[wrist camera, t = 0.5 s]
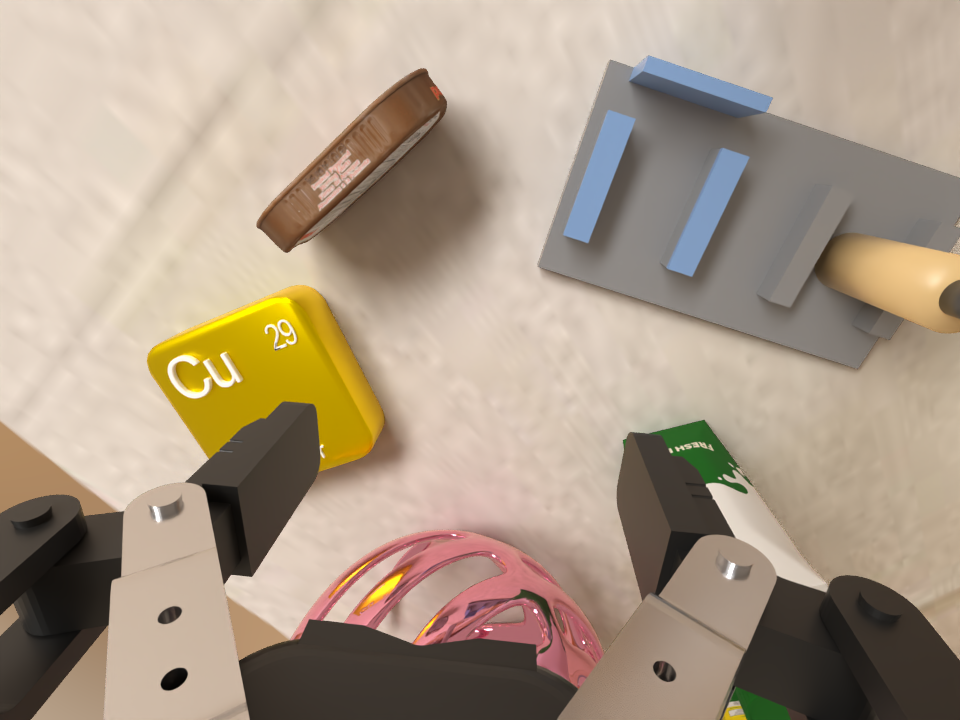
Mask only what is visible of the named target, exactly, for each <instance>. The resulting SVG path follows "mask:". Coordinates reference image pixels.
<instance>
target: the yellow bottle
mask: <svg viewBox="0 0 960 720" xmlns="http://www.w3.org/2000/svg"><path fill="white" fill-rule="evenodd" d="M815 273H816V276H817V278H818V280H819V281H820V282H821V283H822V284H823V285H825V286H827V287H829V288H832V289H834V290H837V291H839V292H841V293H844V294H846V295H849V296H851V297H853V298H856V299H858V300H861V301H863V302H865V303H868V304H870V305H873V306H875V307H878V308H880V309H882V310H885V311H887V312H890V313H892V314H894V315H897V316H899V317H902V318H904V319H906V320H909V321H911V322H914V323H916V324H918V325H921V326H923V327H926V328H928V329H930V330H933V331H935V332H939V333H957V332H960V255H957V254H952V253H948V252H943V251H939V250H934V249H929V248H925V247H920V246H916V245H911V244H906V243H902V242H897V241H893V240H888V239H883V238H879V237H874V236H870V235H865V234H860V233H845V234H841V235H839V236H836V237H834V238H833V239H831V240H830V241H829V242H828V243H827V245H826V247H825V248H824V250H823V252H822V253H821V255H820V257H819V259H818V260H817V262H816V264H815Z"/></svg>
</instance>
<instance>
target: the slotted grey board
mask: <svg viewBox="0 0 960 720" xmlns="http://www.w3.org/2000/svg"><path fill="white" fill-rule="evenodd" d="M772 99H773V98H772V97H769V96H766V95H763V94H760V93H757V92H754V91H752V90H749V89H746V88H743V87H740V86H737V85H734V84H731V83H728V82H725V81H722V80H719V79H716V78H713V77H710V76H707V75H704V74H702V73H699V72H696V71H693V70H690V69H687V68H684V67H681V66H678V65H675V64H672V63H669V62H666V61H663V60H660V59H657V58H654V57H652V56H647V57H646V58H645V59H644V60H643V61H641V62H640V63H639V64H638V65H636V66H635V67H634V68H633V67H630V66H627V65H624V64H622V63H619V62H616V61H613V60H610V61H609V62H608V64H607V67H606V70H605V72H604V75H603V78H602V81H601V84H600V87H599V90H598V92H597V95H596V98H595V101H594V104H593V107H592V110H591V112H590V115H589V118H588V121H587V124H586V127H585V130H584V133H583V135H582V138H581V141H580V144H579V147H578V150H577V153H576V155H575V158H574V161H573V164H572V167H571V170H570V173H569V175H568V178H567V181H566V184H565V187H564V190H563V193H562V195H561V198H560V201H559V204H558V207H557V210H556V213H555V215H554V218H553V221H552V224H551V227H550V230H549V233H548V236H547V238H546V241H545V244H544V247H543V250H542V253H541V256H540V258H539V261H538V267H540V268H543V269H547V270H550V271H553V272H556V273H559V274H562V275H565V276H568V277H572V278H575V279H578V280H581V281H584V282H587V283H590V284H593V285H597V286H600V287H603V288H606V289H609V290H612V291H615V292H618V293H622V294H625V295H628V296H631V297H634V298H637V299H640V300H643V301H647V302H650V303H653V304H656V305H659V306H662V307H665V308H668V309H672V310H675V311H678V312H681V313H684V314H687V315H690V316H693V317H697V318H700V319H703V320H706V321H709V322H712V323H715V324H718V325H722V326H725V327H728V328H731V329H734V330H737V331H740V332H744V333H747V334H750V335H753V336H756V337H759V338H762V339H765V340H769V341H772V342H775V343H778V344H781V345H784V346H787V347H790V348H794V349H797V350H800V351H803V352H806V353H809V354H812V355H815V356H819V357H822V358H825V359H828V360H831V361H834V362H837V363H840V364H844V365H847V366H850V367H853V368H856V369H858V368H859V367H860V365H861V364H862V362H863V361H864V359H865V358H866V356H867V355H868V353H869V352H870V350H871V349H872V347H873V346H874V344H875V343H876V341H877V340H878V338H879V337H882V338H885V339H888V340H890V339H891V337H892V336H893V334H894V333H895V332H896V330H897V329H898V327H899V326H900V324H901V323H902V321H903V320H904V318H902V317H899V316H897V315H894V314H892V313H890V312H887V311H885V310H882V309H880V308H878V307H875V306H873V305H870V304H868V303H865V302H863V301H861V300H858V299H856V298H853V297H851V296H849V295H846V294H844V293H841V292H839V291H837V290H834V289H832V288H829V287H827V286H825V285H823V284H822V283H821V282H820V281H819V280H818V278H817V276H816V273H815V264H816V262H817V260H818V259H819V257H820V255H821V253H822V252H823V250H824V248H825V247H826V245H827V243H828V242H829V241H830V240H831V239H833V238H834V237H836V236H839V235H841V234H845V233H860V234H865V235H870V236H874V237H879V238H883V239H888V240H893V241H897V242H902V243H906V244H911V245H916V246H920V247H925V248H929V249H934V250H939V251H943V252H948V253H949V252H950V251H951V249H952V248H953V246H954V245H955V243H956V242H957V240H958V239H959V237H960V228H958V227H955V226H954V225H955V223H956V222H957V220H958V219H959V217H960V178H958V177H955V176H952V175H949V174H946V173H944V172H941V171H938V170H935V169H932V168H929V167H926V166H923V165H920V164H917V163H914V162H911V161H908V160H905V159H902V158H899V157H896V156H893V155H890V154H887V153H884V152H881V151H879V150H876V149H873V148H870V147H867V146H864V145H861V144H858V143H855V142H852V141H849V140H846V139H843V138H840V137H837V136H834V135H831V134H828V133H825V132H822V131H819V130H816V129H814V128H811V127H808V126H805V125H802V124H799V123H796V122H793V121H790V120H787V119H784V118H781V117H778V116H775V115H772V114H769V113H766V111H767V109H768V107H769V105H770V103H771V101H772Z"/></svg>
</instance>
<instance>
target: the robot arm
mask: <svg viewBox="0 0 960 720" xmlns="http://www.w3.org/2000/svg"><path fill="white" fill-rule="evenodd" d="M320 458H321V456H320V443H319V431H318V419H317V411H316V407H315V405H314V404H310V403H299V402H287V401H284V402H282V403H281V404H280V405H279V406H278V407H277V408H276V409H275V410H274V411H273V412H272V413H271V414H270V415H269V416H268V417H267V418H266V419H265V418H260V419H258V420H256V421H254V422H252V423H250V424H248V425H246V426H244V427H242V428H241V429H240V430H239V431H238V432H237V433H236V434H235V435H234V436H233V437H232V438H231V439H230V441H229V442H227V443H226V444H225V445H223V446H222V447H221V448H220V450H219V452H216V453H215V454H214V455H213V456H212V457H211V458H210V459H209V460H208V461H207V462H206V463H205V464H204V465H203V466H202V467H201V468H200V469H198V470H197V471H196V472H195V473H194V474H193V475H192V476H191V477H190V478H189V479H188V480H187V481H186V482H185V483H172V484H167V485H163V486H160V487H157V488H154V489H151V490H149V491H147V492H145V493H143V494H142V495H140V496H138V497H137V498H136V499H134V500H133V501H132V502H131V503H130V504H129V505H128V506H127V508H126V509H125V511H123V512H115V513H106V514H98V515H89V516H84V514H83V511H82V508H81V505H80V502H79V500H78V499H77V498H75V497H72V496H69V495H50V496H44V497H39V498H35V499H32V500H29V501H26V502H23V503H20V504H18V505H16V506H13V507H11V508H9V509H8V510H6V511H4V512H2V513H1V514H0V615H1V614H2V613H3V612H4V611H5V610H6V609H7V608H8V607H10V606H11V605H12V604H14V606H15V608H16V611H17V613H18V615H19V619H17V620H16V621H15V622H14V623H13V624H12V625H11V626H10V627H9V628H8V629H7V630H6V631H5V632H4V633H3V634H2V635H1V636H0V720H31V719H32V718H33V716H34V715H35V714H36V713H37V711H38V710H39V709H40V708H41V706H42V705H43V704H44V703H45V702H46V700H47V699H48V698H49V697H50V695H51V694H52V693H53V692H54V691H55V689H56V688H57V687H58V685H59V684H60V683H61V682H62V681H63V679H64V678H65V677H66V676H67V675H68V673H69V672H70V671H71V670H72V668H73V667H74V666H75V665H76V664H77V662H78V661H79V660H80V659H81V657H82V656H83V655H84V654H85V653H86V651H87V650H88V649H89V647H90V646H91V645H92V644H93V643H94V641H95V640H96V639H97V638H98V637H99V635H100V634H101V633H102V632H103V631H104V629H105V628H106V627H107V625H109V631H108V650H107V669H106V687H105V704H104V720H722V719H723V717H724V714H725V712H726V710H727V707H728V705H729V703H730V700H731V698H732V695H733V693H734V691H735V688H736V687H738V688H740V689H743V690H745V691H748V692H750V693H753V694H755V695H757V696H760V697H762V698H765V699H767V700H770V701H772V702H775V703H777V704H779V705H782V706H784V707H786V709H787V711H788V713H789V716H790V718H791V720H960V660H959V659H958V658H957V657H956V655H955V654H954V653H953V652H952V650H951V649H950V648H949V647H948V645H947V644H946V643H945V642H944V640H943V639H942V638H941V637H940V635H939V634H938V633H937V632H936V630H935V629H934V628H933V627H932V625H931V624H930V623H929V622H928V620H927V619H926V618H925V617H924V616H923V614H922V613H921V612H920V611H919V610H918V609H917V608H916V607H915V606H914V605H913V604H912V603H911V602H909V601H908V600H907V599H906V598H904V597H903V596H901V595H900V594H898V593H897V592H895V591H893V590H892V589H890V588H888V587H886V586H884V585H882V584H880V583H878V582H875V581H872V580H870V579H866V578H863V577H858V576H850V575H846V576H839V577H836V578H834V579H833V580H832V581H831V582H830V585H829V587H828V589H827V592H823V591H820V590H817V589H814V588H811V587H808V586H805V585H802V584H799V583H795V582H792V581H789V580H787V579H784V578H782V577H779V576H777V575H776V571H775V568H774V567H773V565H772V563H771V562H770V561H769V559H768V558H767V557H766V556H765V555H764V554H763V553H761V552H760V551H759V550H758V549H756V548H754V547H753V546H751V545H750V544H748V543H746V542H744V541H741V540H739V539H736V537H735V535H734V534H733V532H732V530H731V528H730V526H729V525H728V523H727V521H726V519H725V517H724V516H723V514H722V512H721V510H720V508H719V507H718V505H717V503H716V501H715V500H714V499H713V496H712V494H711V492H710V491H709V489H708V487H706V483H705V482H704V480H703V478H702V476H701V474H700V473H699V471H698V470H697V469H696V468H695V467H694V466H693V465H692V464H690V463H689V462H688V461H687V460H686V459H684V458H683V457H681V456H672V455H671V453H670V451H669V449H668V447H667V445H666V443H665V441H664V439H663V437H662V436H661V435H657V434H645V433H634V432H630V433H629V434H628V436H627V439H626V444H625V449H624V454H623V459H622V464H621V469H620V474H619V480H618V485H617V506H618V511H619V515H620V519H621V522H622V526H623V530H624V534H625V537H626V541H627V545H628V549H629V552H630V556H631V560H632V563H633V567H634V571H635V575H636V578H637V582H638V586H639V590H640V593H641V597H642V601H643V602H642V603H641V604H640V606H639V607H638V608H637V610H636V611H635V612H634V614H633V615H632V617H631V618H630V619H629V621H628V622H627V623H626V625H625V626H624V628H623V629H622V630H621V632H620V633H619V634H618V636H617V637H616V639H615V640H614V641H613V643H612V644H611V645H610V647H609V648H608V650H607V651H606V652H605V654H604V655H603V656H602V658H601V659H600V661H599V662H598V663H597V665H596V666H595V667H594V669H593V670H592V672H591V673H590V674H589V676H588V677H587V678H586V680H585V681H584V682H583V684H582V685H581V687H580V688H579V689H578V688H577V687H576V686H575V685H573V684H572V683H571V682H569V681H568V680H566V679H565V678H563V677H562V676H560V675H558V674H556V673H554V672H552V671H551V670H549V669H547V668H544V667H541V666H539V665H537V650H536V644H527V643H518V642H509V641H500V640H491V639H482V638H477V639H469V640H461V641H454V642H446V643H438V644H430V645H415V644H412V643H409V642H406V641H404V640H401V639H399V638H396V637H393V636H391V635H388V634H385V633H383V632H380V631H378V630H375V629H372V628H370V627H367V626H365V625H357V624H348V623H340V622H331V621H322V620H313V619H309V621H308V623H307V625H306V627H305V629H304V631H303V633H302V636H301V638H300V639H294V640H290V641H286V642H281V643H278V644H275V645H272V646H269V647H266V648H264V649H261V650H259V651H257V652H255V653H253V654H250V655H248V656H247V657H245V658H243V659H241V660H240V661H239V659H238V654H237V649H236V644H235V639H234V634H233V629H232V624H231V618H230V613H229V608H228V603H227V598H226V593H225V588H224V584H225V583H226V581H227V580H228V578H229V577H230V575H240V576H249V577H252V576H253V575H254V573H255V572H256V570H257V569H258V567H259V565H260V564H261V562H262V561H263V559H264V558H265V556H266V555H267V553H268V552H269V550H270V548H271V547H272V545H273V544H274V542H275V541H276V539H277V538H278V536H279V535H280V533H281V531H282V530H283V528H284V527H285V525H286V524H287V522H288V521H289V519H290V518H291V516H292V514H293V513H294V511H295V510H296V508H297V507H298V505H299V504H300V502H301V501H302V499H303V497H304V496H305V494H306V493H307V491H308V490H309V488H310V487H311V485H312V484H313V482H314V480H315V479H316V477H317V474H318V471H319V467H320Z"/></svg>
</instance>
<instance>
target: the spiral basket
mask: <svg viewBox="0 0 960 720" xmlns="http://www.w3.org/2000/svg"><path fill="white" fill-rule="evenodd" d="M411 546H413V547H412V548H410V549H409V550H408V551H407V552H406V553H405V554H404V555H403V556H402V558H401V559H400V560H399V561H398V563H397V564H396V565H395V567H394V568H393V570H392V571H391V572H390V573H388V574H387V575H386V576H385V577H384V578H383V579H382V580H380V581H379V582H378V583H377V584H376V585H375V586H374V587H373V588H372V589H371V590H370V591H369V592H368V593H367V595H366V596H365V597H364V598H363V599H362V600H361V601H360V602H359V604H358V605H357V606H356V607H355V609H354V610H353V611H352V612H351V614H350V615H349V616H348V618H347V619H346V620H345V622H344V623H348V624H357V625H365V626H367V627H370V628H372V629H375V630H376V628H377V627H378V626H379V624H380V623H381V622H382V620H383V619H384V618H385V617H386V615H387V614H388V613H389V612H390V611H391V609H392V608H393V607H394V606H395V605H396V604H397V603H398V602H399V601H400V600H401V599H402V598H403V597H404V596H405V595H406V594H407V593H408V592H409V591H410V590H411V589H412V588H413V587H415V586H416V585H417V584H418V583H420V582H421V581H422V580H424V579H425V578H426V577H428V576H429V575H431V574H432V573H434V572H435V571H437V570H439V569H441V568H443V567H444V566H447V565H449V564H451V563H453V562H456V561H458V560H461V559H465V558H468V557H474V556H483V557H488V558H489V559H491V560H492V561H493V562H494V563H495V564H496V565H497V566H498V567H499V568H500V569H501V571H502V572H503V573H504V574H502V575H499V576H496V577H492V578H489V579H486V580H484V581H481V582H479V583H477V584H475V585H473V586H471V587H470V588H468V589H466V590H465V591H463V592H462V593H460V594H459V595H457V596H456V597H455V598H454V599H452V600H451V601H450V602H449V603H447V604H446V605H445V606H444V607H443V608H442V609H441V610H440V611H439V612H438V613H437V614H436V615H435V616H434V617H433V618H432V619H431V620H430V621H429V623H428V624H427V625H426V626H425V627H424V628H423V630H422V631H421V632H420V634H419V635H418V636H417V637H416V639H415V640H414V642H413V643H412V644H415V645H430V644H438V643H446V642H454V641H461V640H469V639H477V638H482V639H491V640H500V641H509V642H518V643H527V644H536V650H537V665H539V666H541V667H544V668H547V669H549V670H551V671H552V672H554V673H556V674H558V675H560V676H562V677H563V678H565V679H566V680H568V681H569V682H571V683H572V684H573V685H575V686H576V687H577V688H578V689H579V688H580V687H581V685H582V684H583V682H584V681H585V680H586V678H587V677H588V676H589V674H590V673H591V672H592V670H593V669H594V667H595V666H596V665H597V663H598V662H599V661H600V659H601V658H602V656H603V655H604V654H605V653H604V650H603V648H602V645H601V643H600V641H599V639H598V636H597V634H596V632H595V630H594V629H593V627H592V625H591V623H590V622H589V620H588V618H587V617H586V615H585V614H584V613H583V611H582V610H581V609H580V607H579V606H578V605H577V604H576V603H575V601H574V600H573V599H572V598H571V597H570V596H569V595H567V594H566V593H565V592H564V591H563V590H562V588H561V587H560V585H559V584H558V583H557V581H556V580H555V579H554V578H553V577H552V575H551V574H550V573H549V572H548V571H547V570H546V569H545V568H544V567H543V566H542V565H540V564H539V563H538V562H537V561H536V560H534V559H533V558H532V557H530V556H529V555H527V554H526V553H524V552H522V551H520V550H518V549H517V548H515V547H512V546H510V545H508V544H505V543H503V542H500V541H498V540H495V539H492V538H490V537H487V536H484V535H480V534H477V533H472V532H467V531H458V530H431V531H423V532H418V533H413V534H410V535H406V536H403V537H400V538H397V539H395V540H392V541H390V542H388V543H386V544H384V545H382V546H380V547H378V548H376V549H374V550H373V551H371V552H370V553H368V554H366V555H365V556H363V557H362V558H361V559H359V560H358V561H356V562H355V563H354V564H353V565H351V566H350V567H349V568H348V569H347V570H345V571H344V572H343V573H342V574H341V575H340V576H339V577H338V578H337V579H336V580H335V581H334V582H333V583H332V584H331V585H330V586H329V587H328V588H327V589H326V590H325V591H324V592H323V594H322V595H321V596H320V597H319V598H318V599H317V601H316V602H315V603H314V604H313V606H312V607H311V608H310V610H309V611H308V612H307V614H306V615H305V617H304V618H303V620H302V621H301V623H300V624H299V626H298V627H297V629H296V631H295V632H294V634H293V636H292V637H291V639H290V640H294V639H300V638H301V636H302V633H303V631H304V629H305V627H306V625H307V623H308V621H309V619H313V620H322V621H323V620H324V618H325V617H326V615H327V614H328V613H329V611H330V610H331V609H332V608H333V606H334V605H335V604H336V603H337V601H338V600H339V599H340V598H341V597H342V596H343V595H344V593H345V592H346V591H347V590H348V589H349V588H350V587H351V586H352V585H353V584H354V583H355V582H356V581H357V580H358V579H360V578H361V577H362V576H363V575H364V574H365V573H367V572H368V571H369V570H370V569H372V568H373V567H374V566H376V565H377V564H378V563H380V562H381V561H383V560H385V559H386V558H388V557H390V556H391V555H393V554H395V553H397V552H399V551H401V550H403V549H406V548H408V547H411ZM514 606H522V608H523V612H524V620H523V621H522V622H520V623H498V624H485V625H483V624H484V623H485V622H487V621H488V620H489V619H491V618H492V617H494V616H495V615H497V614H499V613H501V612H503V611H505V610H507V609H509V608H511V607H514ZM554 608H557V609H558V611H559V613H560V616H561V619H562V622H563V625H564V632H562V630H561V628H560V626H559V624H558V621H557V618H556V616H555V612H554ZM584 636H585V637H584ZM585 638H586V639H585ZM586 640H587V641H586ZM587 642H588V643H587ZM588 644H589V645H588ZM589 646H590V647H589Z"/></svg>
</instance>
